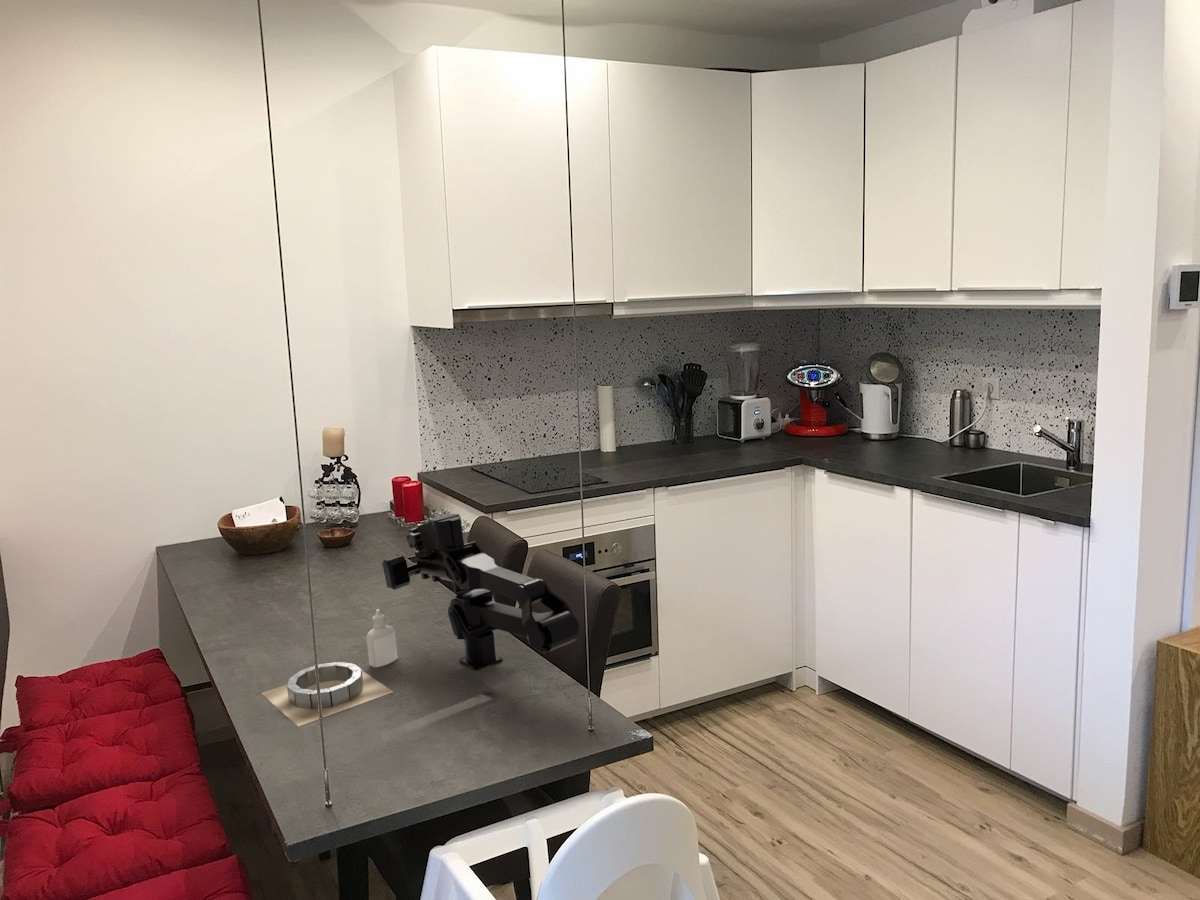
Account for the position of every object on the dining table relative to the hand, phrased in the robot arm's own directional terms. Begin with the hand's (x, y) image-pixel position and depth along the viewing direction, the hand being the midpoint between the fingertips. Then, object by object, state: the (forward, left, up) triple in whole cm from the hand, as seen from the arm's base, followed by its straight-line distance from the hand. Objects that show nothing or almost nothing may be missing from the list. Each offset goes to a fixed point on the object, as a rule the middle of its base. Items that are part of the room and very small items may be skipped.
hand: (406, 557), depth 202 cm
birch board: (-18, +28, -16) cm, 37 cm away
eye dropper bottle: (-13, +14, -17) cm, 25 cm away
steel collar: (-18, +28, -15) cm, 36 cm away
